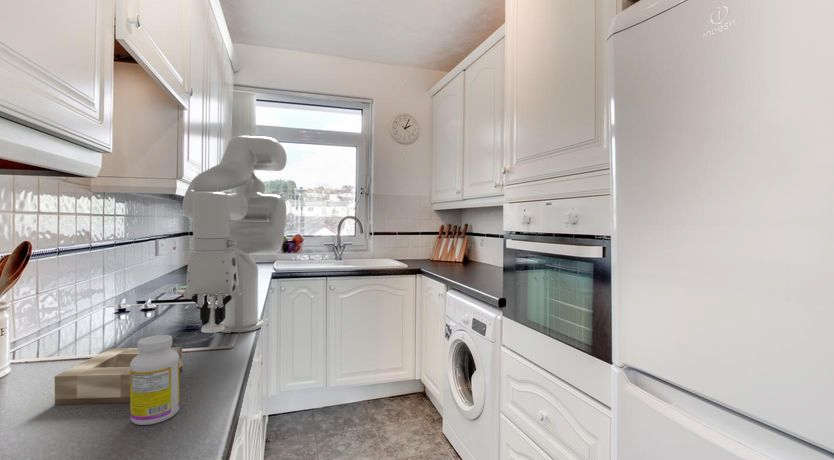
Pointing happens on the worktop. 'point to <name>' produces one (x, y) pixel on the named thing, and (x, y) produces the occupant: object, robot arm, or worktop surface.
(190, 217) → the robot arm
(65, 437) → the worktop surface
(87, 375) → the socket block
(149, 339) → the supplement bottle
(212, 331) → the chess piece
